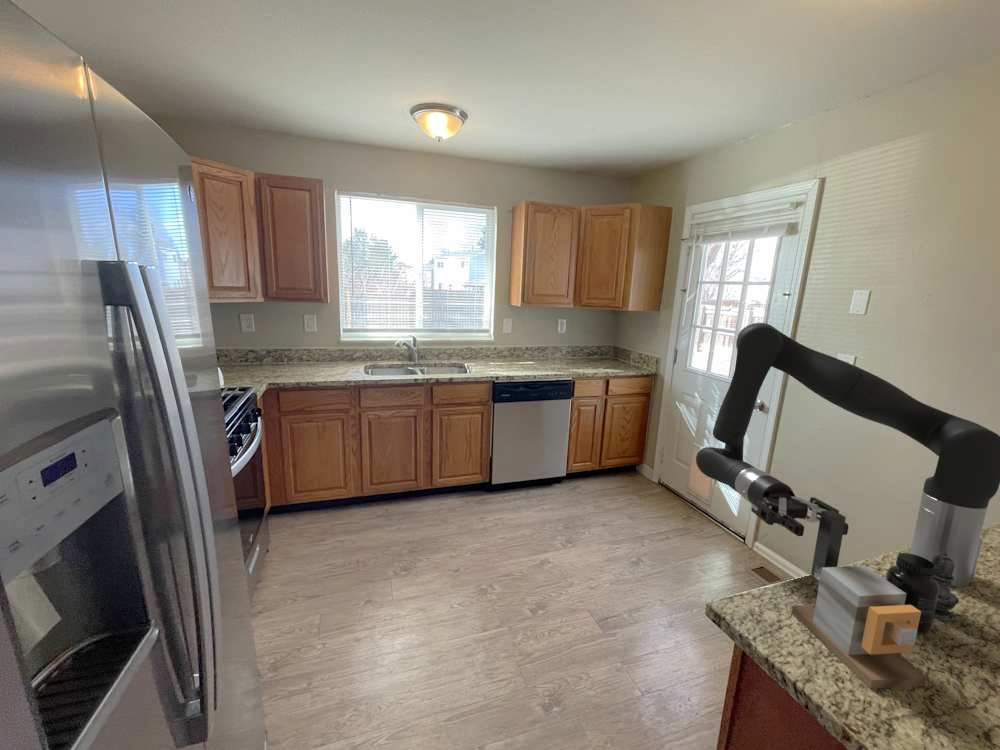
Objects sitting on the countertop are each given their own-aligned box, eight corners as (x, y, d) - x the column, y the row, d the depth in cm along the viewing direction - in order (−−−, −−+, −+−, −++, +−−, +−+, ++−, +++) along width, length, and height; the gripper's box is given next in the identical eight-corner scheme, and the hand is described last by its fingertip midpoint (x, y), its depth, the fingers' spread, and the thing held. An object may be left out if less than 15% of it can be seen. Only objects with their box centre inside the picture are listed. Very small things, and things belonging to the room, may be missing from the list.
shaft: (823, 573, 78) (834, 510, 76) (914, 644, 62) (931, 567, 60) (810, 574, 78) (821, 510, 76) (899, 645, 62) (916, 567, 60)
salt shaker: (964, 624, 76) (979, 564, 74) (926, 618, 77) (939, 559, 75) (938, 601, 82) (951, 545, 80) (903, 596, 83) (914, 541, 81)
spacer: (902, 644, 66) (910, 604, 65) (912, 652, 65) (921, 611, 64) (861, 646, 66) (868, 606, 64) (870, 654, 64) (878, 614, 63)
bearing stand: (836, 610, 79) (847, 551, 77) (925, 685, 64) (941, 614, 62) (791, 612, 78) (800, 553, 76) (870, 688, 63) (884, 617, 61)
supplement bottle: (925, 616, 78) (938, 557, 76) (935, 640, 72) (950, 578, 70) (876, 601, 82) (887, 544, 80) (882, 623, 76) (895, 563, 74)
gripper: (733, 475, 91) (790, 512, 75) (795, 473, 92) (864, 510, 76) (729, 507, 93) (784, 551, 77) (791, 505, 94) (857, 548, 78)
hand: (824, 531), depth 77 cm, fingers open, 8 cm apart
